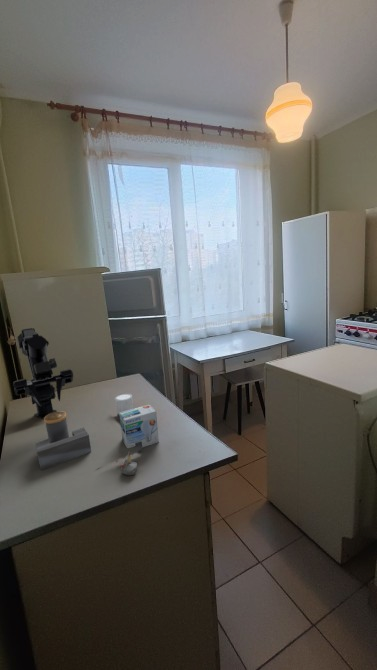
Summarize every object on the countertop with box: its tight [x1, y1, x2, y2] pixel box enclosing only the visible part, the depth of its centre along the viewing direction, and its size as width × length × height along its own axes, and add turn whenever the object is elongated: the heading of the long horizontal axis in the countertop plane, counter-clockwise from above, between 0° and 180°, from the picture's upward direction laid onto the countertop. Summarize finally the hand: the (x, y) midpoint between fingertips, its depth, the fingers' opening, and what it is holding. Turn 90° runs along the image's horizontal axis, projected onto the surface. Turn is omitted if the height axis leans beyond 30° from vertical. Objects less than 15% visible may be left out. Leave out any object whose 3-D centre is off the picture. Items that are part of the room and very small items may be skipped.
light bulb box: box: [119, 404, 160, 449], centre depth 95 cm, size 11×7×11 cm, turn 117°
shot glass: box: [114, 393, 134, 417], centre depth 117 cm, size 7×7×7 cm
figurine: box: [120, 450, 138, 476], centre depth 81 cm, size 5×4×6 cm
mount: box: [34, 427, 92, 471], centre depth 93 cm, size 18×16×7 cm
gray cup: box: [43, 410, 70, 444], centre depth 94 cm, size 6×6×10 cm
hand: (50, 402), depth 100 cm, fingers open, 6 cm apart
